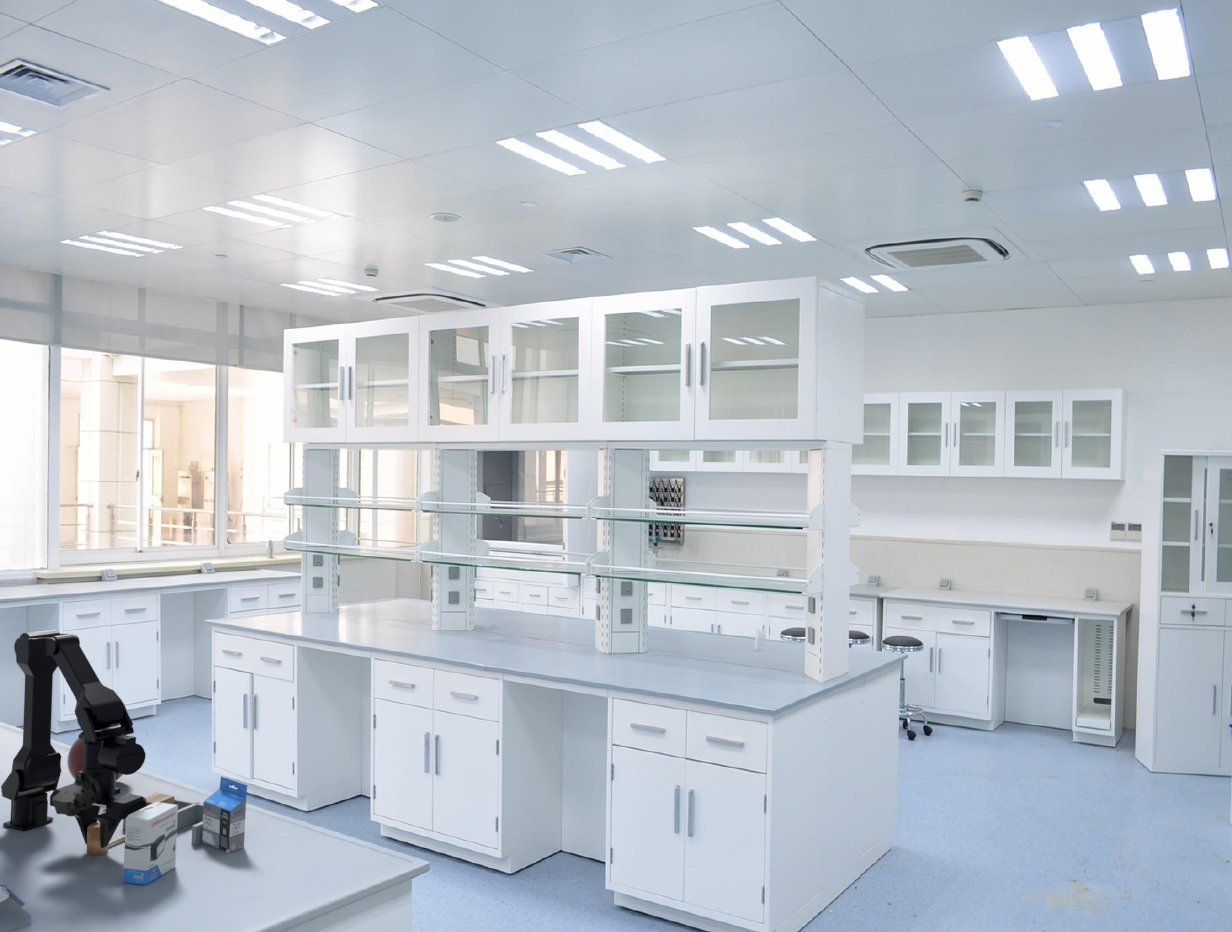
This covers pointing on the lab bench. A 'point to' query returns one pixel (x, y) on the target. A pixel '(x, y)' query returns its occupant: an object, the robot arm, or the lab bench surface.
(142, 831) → the ink box
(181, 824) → the shelf lane
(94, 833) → the brown elongated piece
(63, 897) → the lab bench surface
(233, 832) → the ink cartridge box
